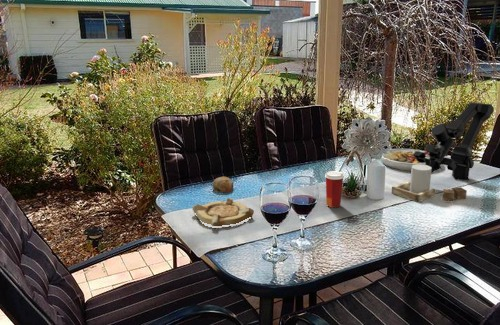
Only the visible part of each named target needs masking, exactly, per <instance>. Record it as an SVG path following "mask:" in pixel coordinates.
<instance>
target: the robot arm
mask: <svg viewBox="0 0 500 325" xmlns="http://www.w3.org/2000/svg"><path fill="white" fill-rule="evenodd" d="M494 110H495V107H494V106H493V105H492V104H490V103H483V102H469V103H467V107H466V108H465V109H463V111H462V112H461V113H460V115H459V116H458V117H457V118H456V119H455V120H453V121H450V122H449V123H447V124H445V123H443V122H440V123H439V124H437V125H435V126H433V127H432V129H431V134H432V135H433V137H434V139H435V141H437V143H436V144H429V143H426V146H425V148H424V151H427V152H428V155H430V156H427V155H425V153H424V152H420V151H416V152H415V153H414V154H413V155H414V157H415V158H416V160H417V161H418V162H421V163H425V165H428V166H430V167H431V168H432V170H431V174H432V173H434V172H435V171H436V172H437V170H441V169H443V168H442V167H443V166H446V168H447V171H451V177H453V179H454V180H457V181H458V180H460V181H469V180H470V178H469V176H470V169H473V167H474V165H475V162H474V160H473V158H472V157H473V154H472V148H473V146H474V144H475V142H476V139H477V137H478V134H479V132H480V130H481V129H482V126H483V124H484V123H485V122H486V121H487V120H489V119H490V118H491V116H492V115H493V113H494ZM469 123H470V124H469ZM467 124H469V126H468V127H467V130H466V133H465V135H464V136H463V134H464V132H465V127H466V126H467ZM462 136H463V139H462V141H461V143H460V145H456V144H455V140H454V139H458V140H459V139H461V137H462ZM451 147H454V148H453V151H452V152H451V154H450V157H449V158H448V156H449V154H448V152H449V151H450V149H451Z"/></svg>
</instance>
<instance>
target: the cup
mask: <svg viewBox="0 0 500 325" xmlns="http://www.w3.org/2000/svg"><path fill="white" fill-rule="evenodd" d="M431 170H432V168H431V167H430V166H428V165H422V164H417V165H413V166H412V169H411V172H410V180H409V181H410V189H409V191H410V192H413V193H416V194H419V193H422V192H425V191H427V190H430V189H431V188H430V187H431V177H432V173H431Z"/></svg>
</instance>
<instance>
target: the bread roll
mask: <svg viewBox="0 0 500 325" xmlns="http://www.w3.org/2000/svg"><path fill="white" fill-rule="evenodd" d="M211 187H212V189H213V191H214V192H215V193H220V192H221V193H223V192H224V193H225V192H226V193H231V192H232V191H233V189H234V181H233V180H232V179H231V178H229V177H227V176H220V177H217V178H215V179H214V180H213V182H212V186H211Z"/></svg>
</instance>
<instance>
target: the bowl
mask: <svg viewBox="0 0 500 325" xmlns="http://www.w3.org/2000/svg"><path fill="white" fill-rule="evenodd" d="M389 150H390V151H389V152H388V153H387V154H385V155H383V156H382V159H380V161H381V162H382V164H384V165H385V166H387V167H389V168H392V169H395V170H396V169H397V170H402V171H411V169H412V166H413V165H417V164H422V165H425V163H421V162H418V161H417V160H416V158H415V157H414V155H413V154H414V153H415V152H416V151H420V152H424V153H425V155H427V156H430V155H428V152H427V151H425V150H420V149H413V148H392V149H389Z"/></svg>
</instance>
